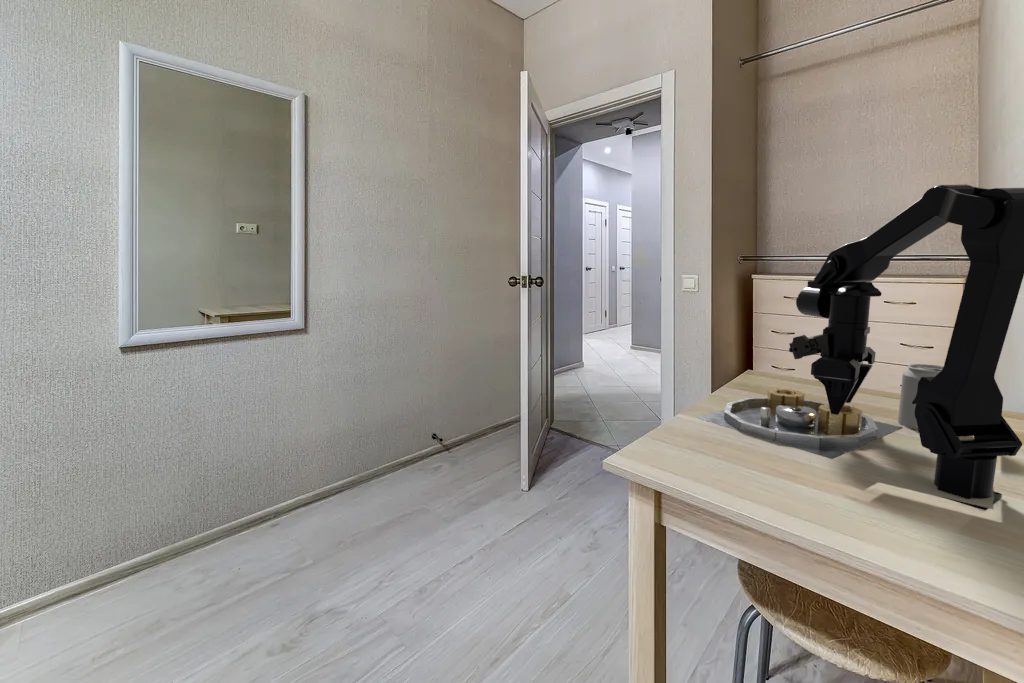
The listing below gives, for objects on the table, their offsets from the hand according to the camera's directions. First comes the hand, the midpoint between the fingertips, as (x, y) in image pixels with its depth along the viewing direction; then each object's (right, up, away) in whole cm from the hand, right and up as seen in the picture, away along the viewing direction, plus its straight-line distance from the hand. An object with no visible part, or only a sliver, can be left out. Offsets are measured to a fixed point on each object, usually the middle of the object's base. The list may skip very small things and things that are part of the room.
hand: (840, 408), depth 87 cm
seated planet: (-3, -2, +12) cm, 13 cm away
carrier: (-5, -4, +6) cm, 9 cm away
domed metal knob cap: (-5, -4, +6) cm, 8 cm away
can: (+17, -5, +3) cm, 18 cm away
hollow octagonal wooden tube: (0, -4, +1) cm, 4 cm away
